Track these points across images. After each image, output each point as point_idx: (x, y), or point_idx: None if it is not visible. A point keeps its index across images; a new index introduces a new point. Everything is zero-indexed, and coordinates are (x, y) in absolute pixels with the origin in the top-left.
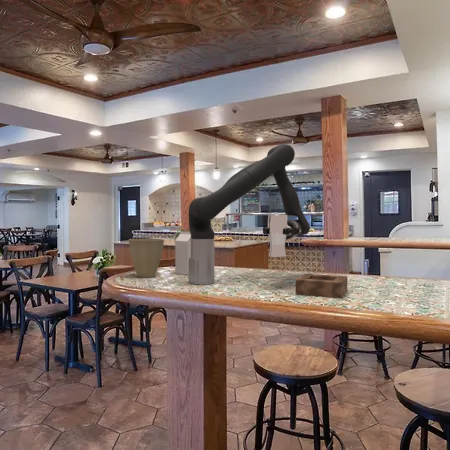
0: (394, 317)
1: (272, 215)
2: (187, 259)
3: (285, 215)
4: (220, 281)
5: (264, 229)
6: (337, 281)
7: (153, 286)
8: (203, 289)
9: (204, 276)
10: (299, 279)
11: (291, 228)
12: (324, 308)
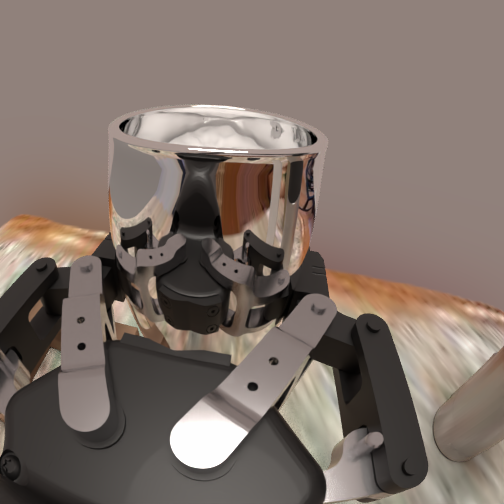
0: (39, 230)
1: (257, 115)
2: None
3: (136, 117)
4: (434, 478)
5: (317, 253)
6: (31, 311)
7: (486, 342)
8: (403, 355)
9: (453, 396)
10: (124, 330)
11: (78, 264)
12: None
